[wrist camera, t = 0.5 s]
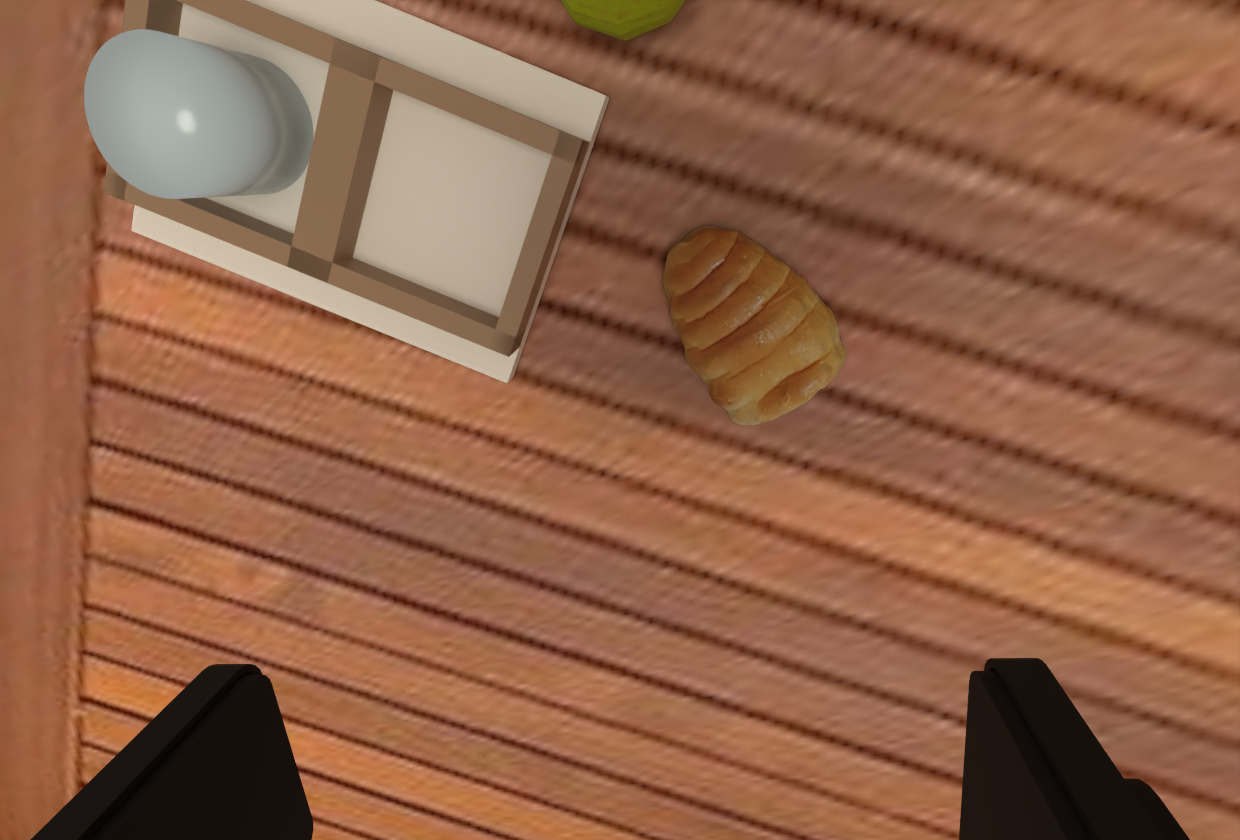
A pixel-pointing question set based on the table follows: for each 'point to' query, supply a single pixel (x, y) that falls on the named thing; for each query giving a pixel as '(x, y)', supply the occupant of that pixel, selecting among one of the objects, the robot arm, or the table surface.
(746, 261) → the pastry
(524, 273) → the tray
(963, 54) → the table surface
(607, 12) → the fruit
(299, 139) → the pale blue rounded block
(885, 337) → the table surface
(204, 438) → the table surface
